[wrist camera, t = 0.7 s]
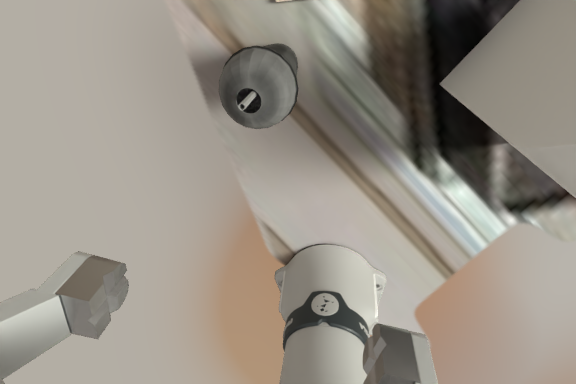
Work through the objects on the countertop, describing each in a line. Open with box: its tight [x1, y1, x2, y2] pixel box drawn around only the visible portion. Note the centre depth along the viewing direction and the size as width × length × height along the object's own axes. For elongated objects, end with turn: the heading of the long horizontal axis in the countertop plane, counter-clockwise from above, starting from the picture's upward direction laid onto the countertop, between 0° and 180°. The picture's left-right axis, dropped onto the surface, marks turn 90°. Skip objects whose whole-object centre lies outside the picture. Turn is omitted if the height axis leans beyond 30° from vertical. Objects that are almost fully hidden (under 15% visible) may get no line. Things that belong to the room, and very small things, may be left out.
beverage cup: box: [219, 44, 298, 129], centre depth 32 cm, size 7×7×20 cm
